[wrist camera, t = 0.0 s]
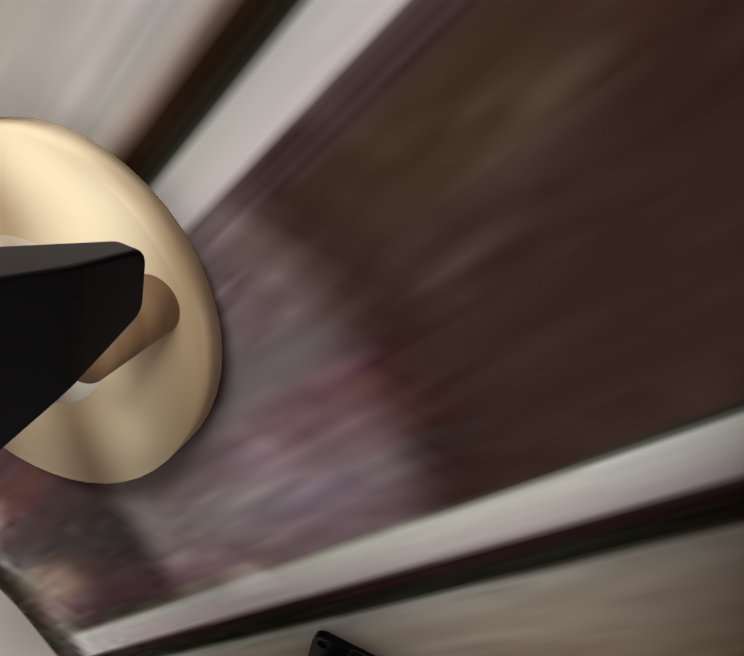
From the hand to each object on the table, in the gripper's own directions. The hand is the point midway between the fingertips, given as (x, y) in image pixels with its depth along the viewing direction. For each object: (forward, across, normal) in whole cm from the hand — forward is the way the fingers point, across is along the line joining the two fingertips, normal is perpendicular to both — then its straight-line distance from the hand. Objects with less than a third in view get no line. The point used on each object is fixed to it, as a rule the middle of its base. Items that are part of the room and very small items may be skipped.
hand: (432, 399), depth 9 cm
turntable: (+15, +18, +12) cm, 26 cm away
